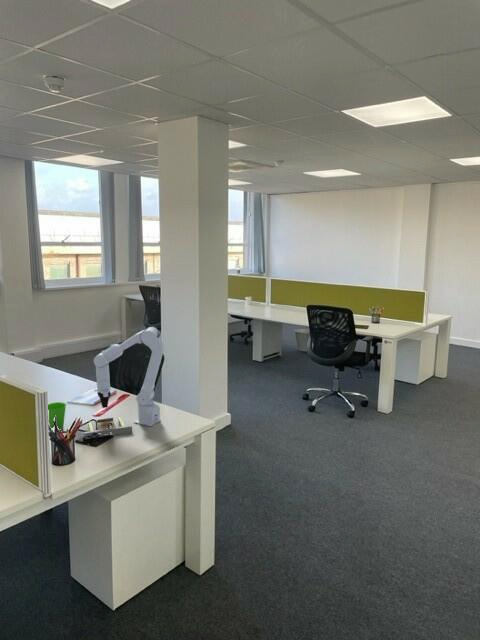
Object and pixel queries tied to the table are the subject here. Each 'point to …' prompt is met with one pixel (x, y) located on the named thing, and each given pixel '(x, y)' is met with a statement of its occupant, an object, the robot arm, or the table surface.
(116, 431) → the bay
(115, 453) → the table surface
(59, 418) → the cup
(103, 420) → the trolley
